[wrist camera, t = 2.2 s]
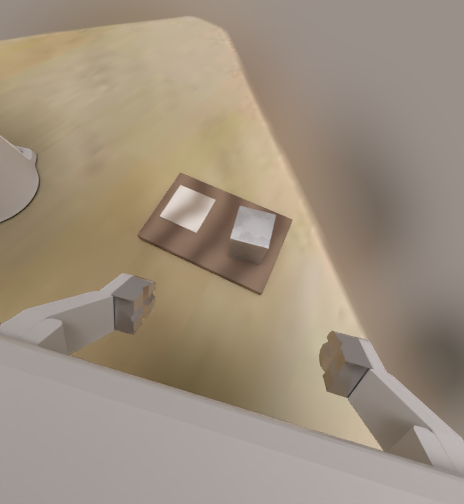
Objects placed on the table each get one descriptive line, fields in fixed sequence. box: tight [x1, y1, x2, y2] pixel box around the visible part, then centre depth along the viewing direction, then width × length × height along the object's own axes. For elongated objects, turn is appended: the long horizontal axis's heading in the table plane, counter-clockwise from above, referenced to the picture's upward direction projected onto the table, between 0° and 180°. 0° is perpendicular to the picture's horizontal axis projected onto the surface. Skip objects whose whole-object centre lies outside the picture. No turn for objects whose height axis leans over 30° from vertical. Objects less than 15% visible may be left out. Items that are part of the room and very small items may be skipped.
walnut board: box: [137, 173, 292, 295], centre depth 34 cm, size 22×14×8 cm, turn 65°
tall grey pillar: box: [229, 206, 276, 265], centre depth 32 cm, size 5×5×8 cm
